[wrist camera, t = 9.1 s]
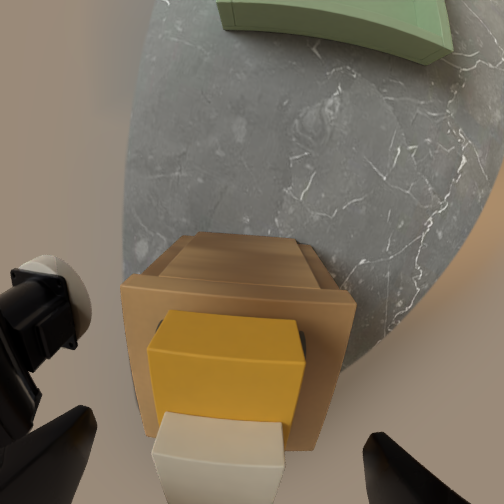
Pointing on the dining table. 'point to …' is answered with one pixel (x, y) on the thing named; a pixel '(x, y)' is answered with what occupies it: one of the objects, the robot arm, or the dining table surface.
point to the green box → (351, 23)
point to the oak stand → (244, 310)
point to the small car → (224, 405)
